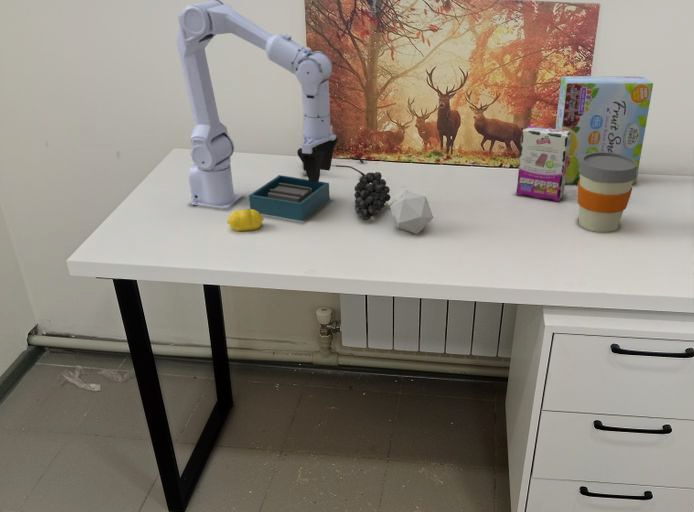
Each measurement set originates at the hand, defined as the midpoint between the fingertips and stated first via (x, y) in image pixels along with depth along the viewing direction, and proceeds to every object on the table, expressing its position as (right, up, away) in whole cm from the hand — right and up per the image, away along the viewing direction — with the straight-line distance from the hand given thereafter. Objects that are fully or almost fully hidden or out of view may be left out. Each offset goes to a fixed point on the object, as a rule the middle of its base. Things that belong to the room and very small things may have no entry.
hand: (319, 175), depth 164 cm
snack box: (+68, +6, +30) cm, 75 cm away
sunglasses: (0, +9, +32) cm, 33 cm away
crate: (-8, -5, +10) cm, 14 cm away
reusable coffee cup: (+64, -10, +6) cm, 65 cm away
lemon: (-16, -12, -2) cm, 20 cm away
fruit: (+10, -7, +8) cm, 15 cm away
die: (+21, -12, +1) cm, 24 cm away
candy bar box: (+53, 0, +20) cm, 56 cm away
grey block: (-8, -5, +9) cm, 13 cm away
